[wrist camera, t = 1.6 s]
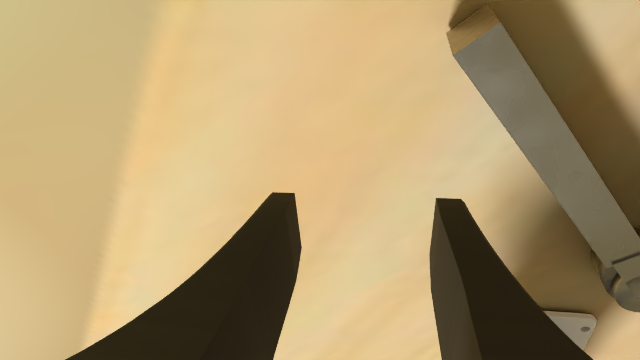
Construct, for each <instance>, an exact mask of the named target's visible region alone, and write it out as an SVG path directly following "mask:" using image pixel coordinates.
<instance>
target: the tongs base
mask: <svg viewBox="0 0 640 360" xmlns="http://www.w3.org/2000/svg"><path fill="white" fill-rule="evenodd" d="M634 230H635V232H636V233H637V235H638V236H639V238H640V229H637V228H634ZM591 260H592V262H593V264H594V266H595V268H596V270H597V272H598V274H599V276H600V278H601V280H602V283H603V285H604V287H605V289H606V291H607V292H608V293H609V294H610V295H611V296H613V297H614V295H613V293H612V291H611V288H610V283H611V280H612V278H613V277H614V276H615V275H616V274H617V273H618V272H617V271H616V269H615V268H614V266H612V267H609V268H606V267H605V266H604V264H603V263H602V261H601V260H600V259H599V257H598V256H597V254H596V253H595V252H594V250H593V249H592V250H591ZM614 298H615V297H614Z"/></svg>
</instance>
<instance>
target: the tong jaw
mask: <svg viewBox="0 0 640 360" xmlns="http://www.w3.org/2000/svg"><path fill="white" fill-rule="evenodd" d="M447 37H448V40H449V44H450V47H451V51H452V54H453V56H454V58H455V59H456V61H457V62H458V63H459V65H460V66H461V67H462V69H463V70H464V72H465V73H466V74H467V76H468V77H469V79H470V80H471V81H472V83H473V84H474V85H475V87H476V88H477V90H478V91H479V92H480V94H481V95H482V97H483V98H484V99H485V101H486V102H487V104H488V105H489V106H490V108H491V109H492V110H493V112H494V113H495V115H496V116H497V117H498V119H499V120H500V122H501V123H502V124H503V126H504V127H505V128H506V130H507V131H508V133H509V134H510V135H511V137H512V138H513V140H514V141H515V142H516V144H517V145H518V146H519V148H520V149H521V151H522V152H523V153H524V155H525V156H526V158H527V159H528V160H529V162H530V163H531V164H532V166H533V167H534V169H535V170H536V171H537V173H538V174H539V176H540V177H541V178H542V180H543V181H544V182H545V184H546V185H547V187H548V188H549V189H550V191H551V192H552V194H553V195H554V196H555V198H556V199H557V200H558V202H559V203H560V205H561V206H562V207H563V209H564V210H565V212H566V213H567V214H568V216H569V217H570V218H571V220H572V221H573V223H574V224H575V225H576V227H577V228H578V230H579V231H580V232H581V234H582V235H583V236H584V238H585V239H586V241H587V242H588V243H589V245H590V246H591V248H592V249H593V250H594V252H595V253H596V254H597V256H598V257H599V259H600V260H601V261H602V263H603V264H604V266H605V267H606V268H609V267H612V266H614V268H615V269H616V271H617V272H618V273H617V274H616V275H615V276H614V277H613V278H612V280H611V283H610V288H611V291H612V293H613V295H614V297H615V299H616V301H617V303H618V304H619V305H620V306H621V307H622V308H624V309H627V310H629V311H634V312H640V238H639V236H638V235H637V233H636V232H635V230H634V228H633V227H632V225H631V224H630V222H629V221H628V219H627V218H626V216H625V214H624V213H623V211H622V210H621V208H620V207H619V205H618V204H617V202H616V200H615V199H614V197H613V196H612V194H611V193H610V191H609V190H608V188H607V187H606V185H605V183H604V182H603V180H602V179H601V177H600V176H599V174H598V173H597V171H596V169H595V168H594V166H593V165H592V163H591V162H590V160H589V159H588V157H587V156H586V154H585V152H584V151H583V149H582V148H581V146H580V145H579V143H578V142H577V140H576V138H575V137H574V135H573V134H572V132H571V131H570V129H569V128H568V126H567V125H566V123H565V121H564V120H563V118H562V117H561V115H560V114H559V112H558V111H557V109H556V107H555V106H554V104H553V103H552V101H551V100H550V98H549V97H548V95H547V94H546V92H545V90H544V89H543V87H542V86H541V84H540V83H539V81H538V80H537V78H536V76H535V75H534V73H533V72H532V70H531V69H530V67H529V66H528V64H527V63H526V61H525V59H524V58H523V56H522V55H521V53H520V52H519V50H518V49H517V47H516V45H515V44H514V42H513V41H512V39H511V38H510V36H509V35H508V33H507V32H506V30H505V28H504V27H503V25H502V24H501V22H500V21H499V19H498V18H497V16H496V14H495V13H494V11H493V10H492V8H491V7H490V5H489V4H488V3H487V4H486V5H484V6H483V7H482V8H480V9H479V10H477V11H476V12H475V13H473V14H472V15H471V16H469V17H468V18H466V19H465V20H464V21H462V22H461V23H460V24H458V25H457V26H455V27H454V28H453V29H451V30H450V31H449V32H447Z"/></svg>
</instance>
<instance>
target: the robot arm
mask: <svg viewBox="0 0 640 360" xmlns="http://www.w3.org/2000/svg"><path fill="white" fill-rule="evenodd" d="M301 248H302V247H301V240H300V232H299V224H298V217H297V209H296V201H295V193H274V192H273V193H272V194H270V195H269V196H268V198H267V199H266V200H265V201H264V202H263V203H262V204H261V206H260V207H259V208H258V209H257V210H256V211H255V213H254V214H253V215H252V216H251V217H250V218H249V219H248V220H247V222H246V223H245V224H244V225H243V226H242V227H241V228H240V229H239V230H238V231H237V232H236V233H235V234H234V236H233V237H232V238H231V239H230V240H229V241H228V242H227V243H226V244H225V245H224V246H223V247H222V248H221V249H220V250H219V251H218V252H217V253H216V254H215V255H214V256H213V257H212V258H210V259H209V260H208V261H207V262H206V263H205V264H204V265H203V266H202V267H201V268H200V269H199V270H198V271H197V272H195V273H194V274H193V275H192V276H191V277H190V278H188V279H187V280H186V281H185V282H184V283H183V284H181V285H180V286H179V287H178V288H176V289H175V290H174V291H173V292H171V293H170V294H169V295H167V296H166V297H165V298H163V299H162V300H161V301H159V302H158V303H156V304H155V305H153V306H152V307H151V308H149V309H148V310H146V311H145V312H144V313H142V314H141V315H139V316H138V317H136V318H135V319H134V320H132V321H131V322H129V323H127V324H126V325H124V326H123V327H121V328H120V329H118V330H116V331H115V332H113V333H112V334H110V335H108V336H107V337H105V338H103V339H102V340H100V341H98V342H96V343H95V344H93V345H91V346H90V347H88V348H86V349H84V350H83V351H81V352H79V353H77V354H75V355H73V356H71V357H70V358H68V359H66V360H273V358H274V354H275V350H276V347H277V344H278V340H279V337H280V334H281V330H282V327H283V324H284V320H285V317H286V314H287V310H288V307H289V304H290V300H291V297H292V293H293V290H294V286H295V283H296V278H297V273H298V267H299V261H300V254H301ZM430 277H431V293H432V299H433V306H434V312H435V319H436V325H437V331H438V338H439V344H440V350H441V356H442V360H593V359H592V358H591V357H590V356H589V355H587V354H586V353H585V352H584V351H583V350H584V348H585V346H586V344H587V342H588V340H589V338H590V336H591V334H592V332H593V330H594V328H595V326H596V324H597V321H596V319H595V317H594V316H593V315H591V314H583V313H569V312H555V311H543V310H542V309H541V308H540V307H539V306H538V305H537V303H536V302H535V301H534V300H533V299H532V298H531V297H530V295H529V294H528V293H527V292H526V291H525V290H524V288H523V287H522V286H521V285H520V283H519V282H518V281H517V280H516V279H515V277H514V276H513V275H512V274H511V272H510V271H509V270H508V268H507V267H506V266H505V264H504V263H503V262H502V260H501V259H500V258H499V256H498V255H497V253H496V252H495V251H494V249H493V248H492V246H491V245H490V244H489V242H488V241H487V239H486V238H485V236H484V235H483V233H482V231H481V230H480V228H479V227H478V225H477V224H476V222H475V220H474V219H473V217H472V215H471V214H470V212H469V210H468V208H467V206H466V204H465V203H464V202H463V201H462V200H461V199H446V198H436V204H435V212H434V221H433V230H432V239H431V247H430Z"/></svg>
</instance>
